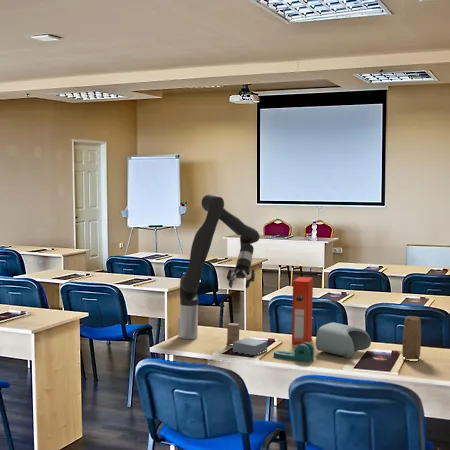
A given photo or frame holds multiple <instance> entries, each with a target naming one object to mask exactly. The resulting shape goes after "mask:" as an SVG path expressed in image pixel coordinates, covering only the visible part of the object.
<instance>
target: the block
mask: <svg viewBox="0 0 450 450" xmlns="http://www.w3.org/2000/svg"><path fill="white" fill-rule="evenodd" d="M421 321H422V320H421V317H420V316H416V315H407V316H406V317H405V319H404V322H403V323H404V324H403V333H402V349H401V350H402V352H401V353H402V356H403V357H405V358H406V359H419V360H420V358H421V348H422V347H421V346H422V322H421ZM402 356H401V357H402ZM403 357H402V358H403ZM419 357H420V358H419Z"/></svg>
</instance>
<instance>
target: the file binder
mask: <svg viewBox="0 0 450 450" xmlns="http://www.w3.org/2000/svg"><path fill="white" fill-rule="evenodd" d="M313 287H314V278H313V277H309V276H308V277H305V276H298V277H297V278H295V279H294V280H293V281H292V309H291V310H292V313H291V314H292V316H291V319H292V321H291V322H292V323H291V345H297V346H298V345H300V344H302V343H304V342H309V343H310V341H311V340H312V334H313V332H312V331H313V295H314V293H313V292H314V289H313Z"/></svg>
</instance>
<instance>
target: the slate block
mask: <svg viewBox="0 0 450 450" xmlns="http://www.w3.org/2000/svg"><path fill="white" fill-rule="evenodd" d="M265 350H267V351H268V341H267V340H261V339H255V338H250V337H243V338H241V339H239V340H238V341H235V342H233V346H232V353H235V352H238V353H237V354H241V353H244V354H243V355H247V354H250V355H249V356H252V355H256V354H258V353H260V352H263V351H265ZM263 353H264V352H263ZM258 355H259V354H258ZM256 356H257V355H256Z"/></svg>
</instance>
